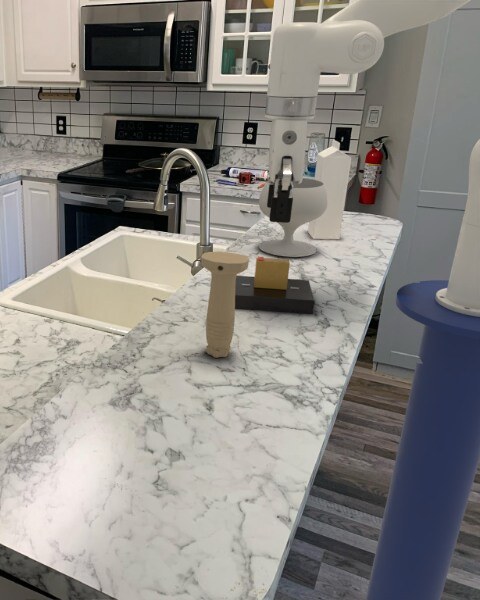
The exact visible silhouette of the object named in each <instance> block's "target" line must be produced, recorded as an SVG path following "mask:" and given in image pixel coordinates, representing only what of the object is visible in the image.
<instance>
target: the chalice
mask: <svg viewBox="0 0 480 600" xmlns="http://www.w3.org/2000/svg"><path fill="white" fill-rule="evenodd" d="M293 180H294V178H293ZM269 184H271V180H270V179H268V180H267V181H266V182H265V183H264V185H263V187H262V188H261V192H260V194H259V198H258V206H259V209H260V211H261V212H262V214H263V215H264V216H266V217H267V218H270V209H271V208H268V207H267V200H268V191H269ZM271 185H274V184H271ZM292 198H293V203H292V211H291V219H290V222H289V223H282V222H276V223H277V224H278V225H279V226H280V227H281V228H282V229H283V232H284V236H283V238H282V239H270V240H265V241H263V242H261V243H260V244H259V245H258V247H259V249H260V250H261V251H263V252H265V253H267V254H271V255H275V256H281V257H288V258H289V257H292V258H293V257H294V258H295V257H307V256H311V255H314V254H315V253H316V252H317V248H316V247H315V246H314V245H312V244H310V243H307V242H304V241H299V240H295V239H294V233H295V231H296V230H297V229H298V228H300V227H301V226H303V225H305V224H309V222H310V221H313V220H315V219H317V218H319V217H320V216H321V215H322V214H323V213H324V212H325V210H326V208H327V192H326V188H325V186H324V184H323V183H322V182H320V181H317V180H314V179H312V178H306V177H303V180H302V182H301V183H300V184H297V182H296V181H295V180H294V181H293V195H292Z"/></svg>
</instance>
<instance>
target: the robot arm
mask: <svg viewBox="0 0 480 600" xmlns="http://www.w3.org/2000/svg"><path fill="white" fill-rule="evenodd" d="M471 1H472V0H355V1H353V2H352V3H350V4H349V5H347V6H345V7H343V9H341V10H339V11H338V12H336V13H334V14H333V15H332V16H330V17H328V18H327V19H326V20H324V21H322V22H321V23H320V22H314V21H307V22H306V21H305V22H304V21H301V22H299V21H298V22H296V21H295V22H284V23H281V24H279V25H277V26H276V28H275V30H274V31H273V34H272V41H271V42H272V43H271V50H270V51H271V52H270V62H269V71H268V81H267V82H268V83H267V92H266V101H265V111H264V112H265V113H264V118H265V119H269V120H271V127H270V137H269V149H268V177H269V180H271V184H274V185H271V184H269V191H268V200H267V207H268V208H271V209H270V218H269V217H268V218H269V222H271V223H277V222H282V223H289V222H290V219H291V211H292V203H293V198H292V195H293V181H294V180H295V181H296V182H297V184H300V183H301V182H302V180H303V178H304V169H305V168H304V167H305V158H306V157H305V156H306V149H307V148H306V147H307V139H308V138H307V137H308V120H314V119H315V117H316V109H317V101H318V93H319V88H320V87H319V86H320V79H321V73H329V74H330V73H331V74H339V75H357V74H360V73H363V72H366V71H368V70H369V69H371V68H372V67H373V66H374V65H375V64H376V63H378V61H379V60H380V58H381V56H382V55H383V51H384V48H385V38H388V37H389V36H392V35H394V34H397V33H400V32H404V31H407V30H411V29H414V28H419V27H423V26H425V25H428V24H431V23H433V22H436V21H438V20H441V19H443V18H445V17H447V16H449V15H451V14H453V13H454V12H455V11H456V10H458V9H460V8H461V7H463V6H465V5H466V4H468V3H470V2H471ZM293 178H294V180H293ZM467 189H468V190H467V196H466V203H465V208H464V212H463V217H462V220H461V225H460V229H459V235H458V238H457V243H456V247H455V253H454V257H453V261H452V266H451V269H450V274H449V278H448V281H449V283H448V287H447V288H445V289H441V290H439V291H438V292H437V293H436V297H435V300H436V301H437V303H438V304H440V305H441V306H443V307H444V308H447V309H449V310H451V311H454V312H457V313H461V314H465V315H469V316H475V317H480V138H479V139H478V140H477V142H476V143H475V144H474V146H473V147H472V150H471V152H470V156H469V160H468V188H467Z"/></svg>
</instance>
